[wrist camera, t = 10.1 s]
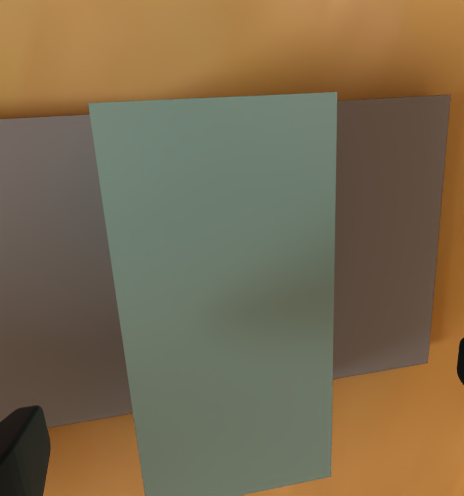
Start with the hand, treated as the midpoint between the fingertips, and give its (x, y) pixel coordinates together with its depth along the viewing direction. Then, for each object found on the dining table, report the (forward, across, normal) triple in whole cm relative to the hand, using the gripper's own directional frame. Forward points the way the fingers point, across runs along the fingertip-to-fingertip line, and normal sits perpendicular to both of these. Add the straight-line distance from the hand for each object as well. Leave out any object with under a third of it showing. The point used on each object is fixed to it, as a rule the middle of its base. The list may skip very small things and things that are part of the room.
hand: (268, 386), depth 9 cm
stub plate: (+9, 0, 0) cm, 9 cm away
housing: (+8, 0, 0) cm, 8 cm away
